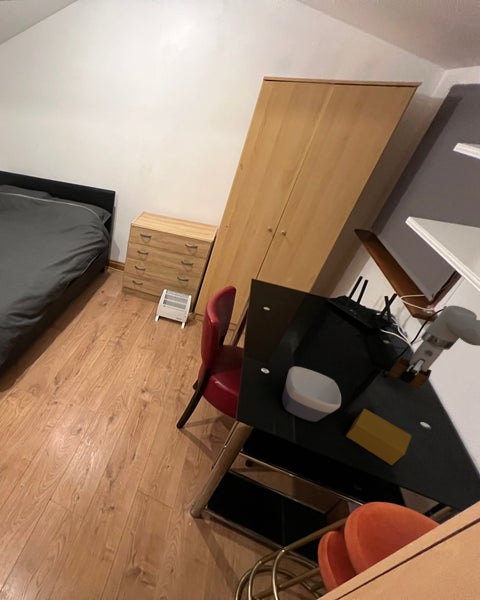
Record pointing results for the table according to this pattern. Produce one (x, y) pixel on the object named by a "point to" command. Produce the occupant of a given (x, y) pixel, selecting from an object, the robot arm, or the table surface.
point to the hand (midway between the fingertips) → (406, 376)
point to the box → (379, 437)
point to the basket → (403, 365)
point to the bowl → (310, 394)
